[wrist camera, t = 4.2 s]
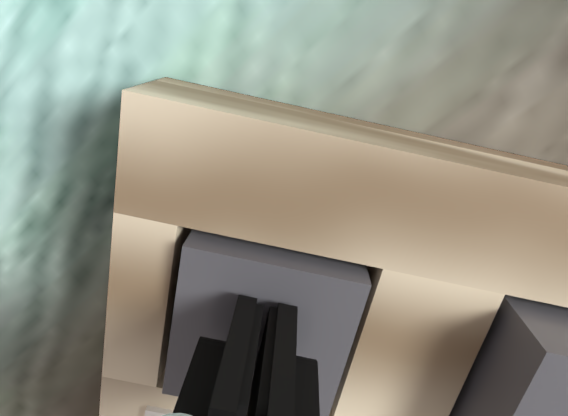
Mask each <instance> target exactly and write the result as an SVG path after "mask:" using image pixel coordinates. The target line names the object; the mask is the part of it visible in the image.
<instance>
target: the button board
mask: <svg viewBox="0 0 568 416" xmlns="http://www.w3.org/2000/svg"><path fill="white" fill-rule="evenodd" d="M192 229H195V230H200V231H204V232H209V233H214V234H219V235H223V236H228V237H233V238H238V239H243V240H247V241H252V242H257V243H262V244H266V245H271V246H276V247H281V248H286V249H290V250H295V251H300V252H305V253H309V254H314V255H319V256H324V257H328V258H333V259H338V260H343V261H348V262H352V263H357V264H362V265H366V266H367V270H368V274H369V277H370V281H371V285H372V286H371V289H370V292H369V295H368V298H367V301H366V304H365V307H364V310H363V313H362V316H361V319H360V322H359V326H358V329H357V332H356V335H355V338H354V341H353V344H352V347H351V350H350V353H349V356H348V359H347V362H346V365H345V368H344V371H343V374H342V377H341V380H340V383H339V386H338V389H337V392H336V395H335V399H334V402H333V405H332V408H331V411H330V414H329V416H449V414H450V412H451V410H452V408H453V406H454V404H455V402H456V399H457V397H458V395H459V393H460V391H461V389H462V386H463V384H464V382H465V380H466V378H467V376H468V374H469V371H470V369H471V367H472V365H473V363H474V361H475V358H476V356H477V354H478V352H479V350H480V348H481V345H482V343H483V341H484V339H485V337H486V335H487V333H488V330H489V328H490V326H491V324H492V322H493V320H494V317H495V315H496V313H497V311H498V309H499V307H500V304H501V302H502V300H503V298H504V296H505V295H510V296H514V297H519V298H524V299H529V300H534V301H538V302H543V303H548V304H553V305H557V306H562V307H567V308H568V166H566V165H562V164H557V163H553V162H548V161H544V160H539V159H535V158H530V157H526V156H521V155H516V154H512V153H507V152H503V151H498V150H494V149H489V148H485V147H480V146H476V145H471V144H467V143H462V142H457V141H453V140H448V139H444V138H439V137H435V136H430V135H426V134H421V133H417V132H412V131H408V130H403V129H399V128H394V127H389V126H385V125H380V124H376V123H371V122H367V121H362V120H358V119H353V118H349V117H344V116H340V115H335V114H331V113H326V112H321V111H317V110H312V109H308V108H303V107H299V106H294V105H290V104H285V103H281V102H276V101H272V100H267V99H262V98H258V97H253V96H249V95H244V94H240V93H235V92H231V91H226V90H222V89H217V88H213V87H208V86H204V85H199V84H194V83H190V82H185V81H181V80H176V79H172V78H167V77H165V78H162V79H158V80H155V81H151V82H148V83H144V84H141V85H137V86H134V87H130V88H127V89H123V90H122V98H121V112H120V126H119V140H118V155H117V169H116V183H115V197H114V211H113V225H112V239H111V253H110V267H109V282H108V296H107V310H106V324H105V338H104V352H103V366H102V380H101V394H100V409H99V416H163V415H166V414H169V413H173V410H174V408H175V405H176V402H177V399H178V396H172V395H167V394H162V389H163V382H164V375H165V368H166V360H167V353H168V346H169V339H170V331H171V324H172V317H173V310H174V302H175V295H176V288H177V281H178V273H179V266H180V259H181V252H182V246H183V244H184V242H185V241H186V239H187V237H188V236H189V234H190V232H191V231H192Z"/></svg>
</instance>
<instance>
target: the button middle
mask: <svg viewBox="0 0 568 416" xmlns="http://www.w3.org/2000/svg"><path fill="white" fill-rule="evenodd" d="M449 416H568V308H567V307H562V306H557V305H553V304H548V303H543V302H538V301H534V300H529V299H524V298H519V297H514V296H510V295H505V296H504V298H503V300H502V302H501V304H500V307H499V309H498V311H497V313H496V315H495V317H494V320H493V322H492V324H491V326H490V328H489V330H488V333H487V335H486V337H485V339H484V341H483V343H482V345H481V348H480V350H479V352H478V354H477V356H476V358H475V361H474V363H473V365H472V367H471V369H470V371H469V374H468V376H467V378H466V380H465V382H464V384H463V386H462V389H461V391H460V393H459V395H458V397H457V399H456V402H455V404H454V406H453V408H452V410H451V412H450V414H449Z"/></svg>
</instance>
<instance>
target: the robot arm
mask: <svg viewBox="0 0 568 416" xmlns="http://www.w3.org/2000/svg"><path fill="white" fill-rule="evenodd" d="M263 308H264V305H262V304H257V298H254V297H249V296H244V295H238V298H237V302H236V306H235V310H234V314H233V318H232V321H231V325H230V329H229V333H228V337H227V341H222V340H217V339H212V338H207V337H202V336H200V338H199V340H198V343H197V345H196V348H195V351H194V354H193V357H192V360H191V362H190V365H189V368H188V371H187V374H186V377H185V379H184V382H183V385H182V388H181V391H180V394H179V396H178V399H177V402H176V405H175V408H174V410H173V413H169V414H166V415H163V416H320V406H319V380H318V362H317V360H316V359H311V358H306V357H301V356H296V348H297V314H298V307H297V306H293V305H288V304H283V303H278V305H277V308H276V307H272V306H270V308H269V312H268V316H267V320H266V324H265V329H264V333H263V337H262V342H261V346H260V350H259V354H258V359H257V363H256V367H255V371H254V366H255V360H256V353H257V347H258V341H259V334H260V328H261V321H262V315H263ZM253 373H254V376H253ZM252 379H253V380H252Z"/></svg>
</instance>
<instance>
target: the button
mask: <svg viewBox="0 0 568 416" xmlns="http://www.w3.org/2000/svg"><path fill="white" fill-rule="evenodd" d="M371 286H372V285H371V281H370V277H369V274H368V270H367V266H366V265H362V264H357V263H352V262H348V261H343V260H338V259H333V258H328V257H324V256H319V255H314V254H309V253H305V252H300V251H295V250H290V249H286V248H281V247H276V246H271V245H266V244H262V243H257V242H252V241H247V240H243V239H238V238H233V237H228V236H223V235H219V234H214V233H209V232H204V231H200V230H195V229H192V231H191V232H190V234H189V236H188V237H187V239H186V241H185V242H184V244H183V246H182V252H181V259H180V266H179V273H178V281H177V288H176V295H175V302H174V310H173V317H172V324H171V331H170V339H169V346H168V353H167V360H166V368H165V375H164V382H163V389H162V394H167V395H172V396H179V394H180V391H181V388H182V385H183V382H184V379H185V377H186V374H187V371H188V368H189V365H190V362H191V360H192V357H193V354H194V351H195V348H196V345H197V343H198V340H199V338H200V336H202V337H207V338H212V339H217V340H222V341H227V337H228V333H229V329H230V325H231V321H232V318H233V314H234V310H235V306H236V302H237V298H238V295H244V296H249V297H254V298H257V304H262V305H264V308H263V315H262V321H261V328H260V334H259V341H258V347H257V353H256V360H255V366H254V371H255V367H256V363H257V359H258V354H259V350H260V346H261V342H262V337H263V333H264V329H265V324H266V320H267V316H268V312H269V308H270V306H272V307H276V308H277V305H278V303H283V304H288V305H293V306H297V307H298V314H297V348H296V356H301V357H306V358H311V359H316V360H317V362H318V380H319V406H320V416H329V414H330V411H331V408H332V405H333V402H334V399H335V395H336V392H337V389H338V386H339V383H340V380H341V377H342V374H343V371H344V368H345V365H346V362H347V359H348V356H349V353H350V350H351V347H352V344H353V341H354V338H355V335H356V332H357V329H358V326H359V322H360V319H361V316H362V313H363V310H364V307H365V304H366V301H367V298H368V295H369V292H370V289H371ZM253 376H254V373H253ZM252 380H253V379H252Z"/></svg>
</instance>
